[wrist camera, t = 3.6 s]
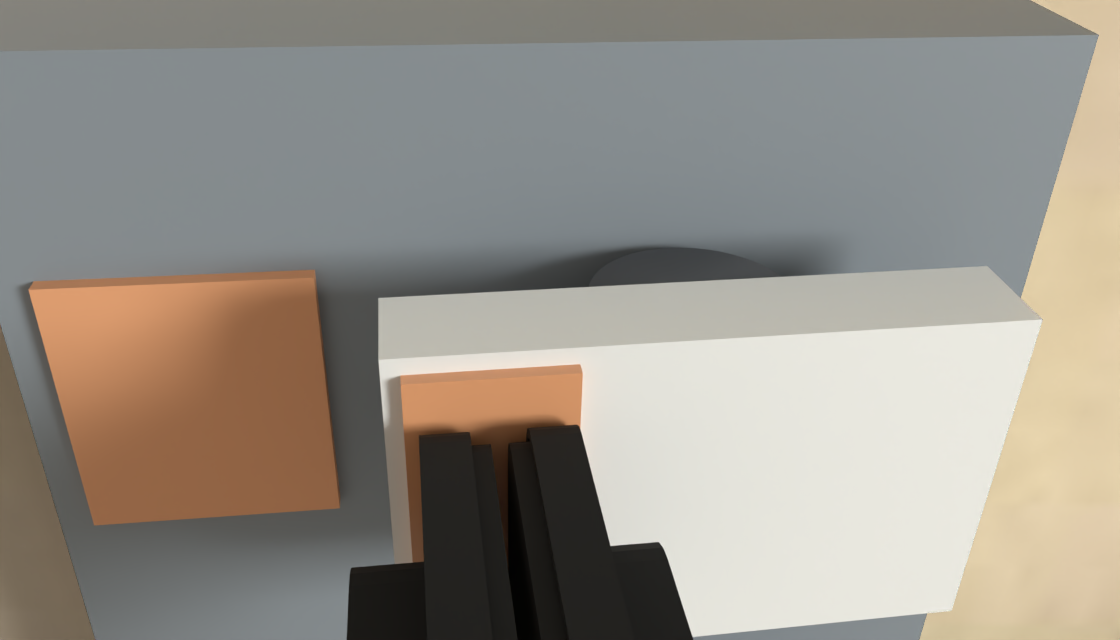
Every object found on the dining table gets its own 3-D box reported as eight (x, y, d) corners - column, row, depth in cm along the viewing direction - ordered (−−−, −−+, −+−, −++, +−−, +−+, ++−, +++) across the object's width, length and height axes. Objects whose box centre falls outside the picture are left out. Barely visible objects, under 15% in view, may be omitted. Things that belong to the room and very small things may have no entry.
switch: (940, 220, 13) (1050, 327, 11) (876, 488, 15) (957, 620, 13) (378, 246, 12) (379, 368, 10) (399, 528, 14) (402, 677, 12)
